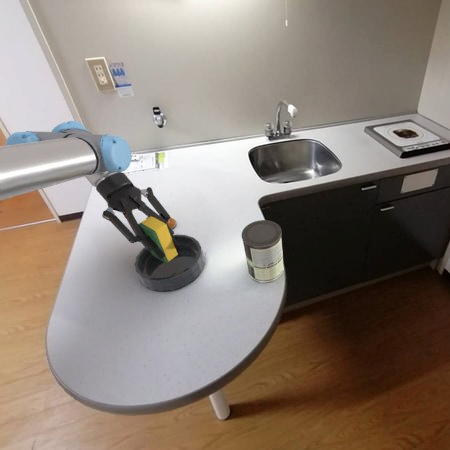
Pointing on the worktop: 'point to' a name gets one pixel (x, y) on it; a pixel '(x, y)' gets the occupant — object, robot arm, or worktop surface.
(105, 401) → the worktop surface
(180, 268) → the bowl
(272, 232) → the coffee can
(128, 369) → the worktop surface
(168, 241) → the sponge
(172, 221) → the pastry
